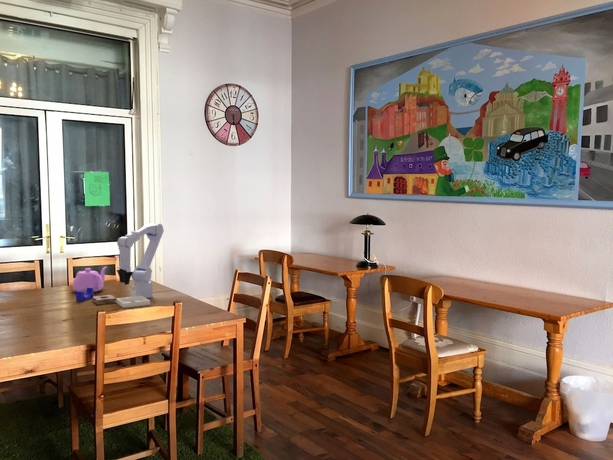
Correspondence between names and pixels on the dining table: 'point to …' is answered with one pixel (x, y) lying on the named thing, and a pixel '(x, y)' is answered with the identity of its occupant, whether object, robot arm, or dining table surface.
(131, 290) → the steel pin
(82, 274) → the teapot
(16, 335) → the dining table surface
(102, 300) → the square hole board
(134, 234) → the robot arm
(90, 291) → the cable clip
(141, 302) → the tray
